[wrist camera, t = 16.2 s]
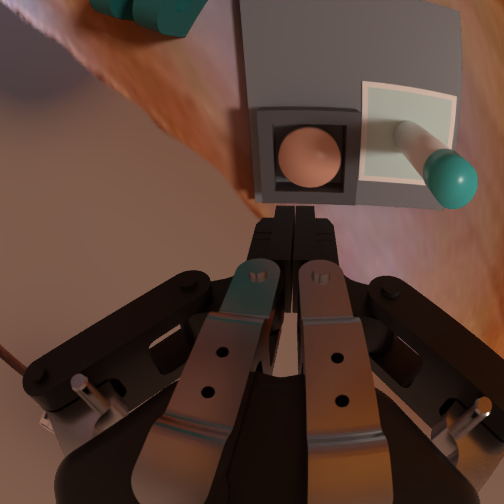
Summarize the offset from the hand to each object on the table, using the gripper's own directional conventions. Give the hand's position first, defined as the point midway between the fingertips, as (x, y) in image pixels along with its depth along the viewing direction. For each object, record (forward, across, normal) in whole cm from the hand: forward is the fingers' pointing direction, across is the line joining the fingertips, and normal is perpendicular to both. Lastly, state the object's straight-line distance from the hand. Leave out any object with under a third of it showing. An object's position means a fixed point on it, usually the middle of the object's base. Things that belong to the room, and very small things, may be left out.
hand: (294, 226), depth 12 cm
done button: (+15, -1, +1) cm, 15 cm away
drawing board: (+16, -5, -4) cm, 17 cm away
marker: (+15, -10, 0) cm, 18 cm away
